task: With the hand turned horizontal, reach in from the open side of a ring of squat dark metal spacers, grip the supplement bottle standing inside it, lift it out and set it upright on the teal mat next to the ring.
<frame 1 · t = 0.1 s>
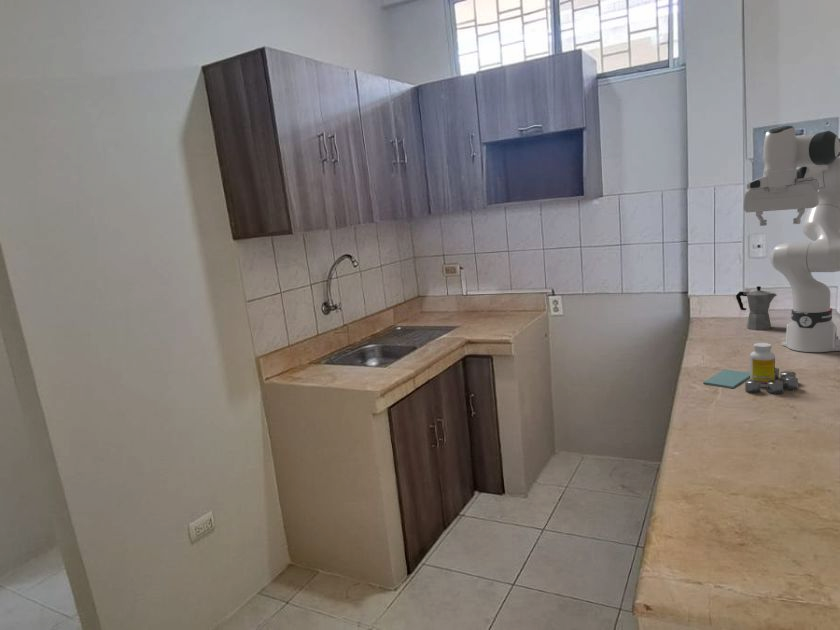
hand: (779, 224, 178), 48 cm above the countertop, tool pointing down, fingers open, 8 cm apart
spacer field: (762, 384, 176), on the countertop
coffeepot: (756, 328, 241), on the countertop
supplement bottle: (762, 385, 176), on the countertop
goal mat: (728, 379, 183), on the countertop
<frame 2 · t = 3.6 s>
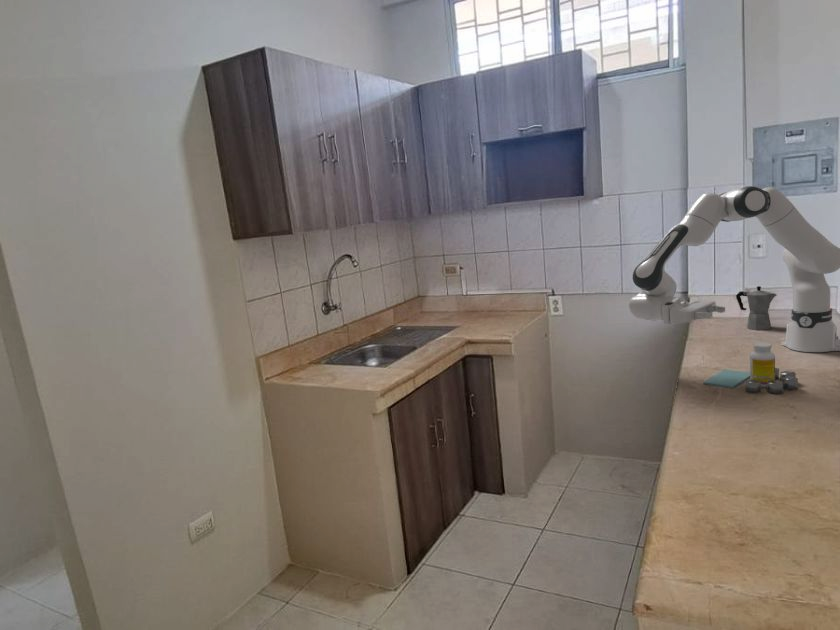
hand: (718, 312, 182), 22 cm above the countertop, tool horizontal, fingers open, 8 cm apart
nothing on the countertop moved.
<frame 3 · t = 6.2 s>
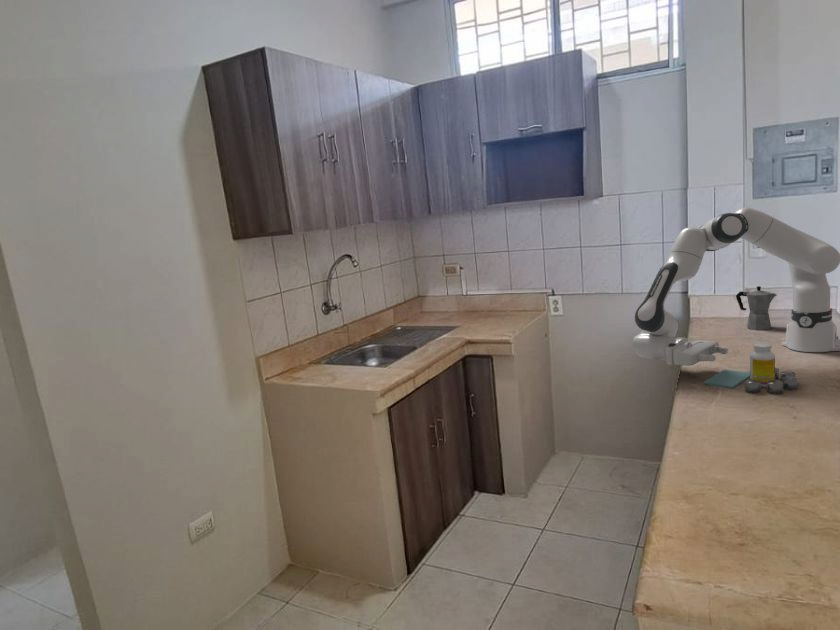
hand: (721, 354, 184), 8 cm above the countertop, tool horizontal, fingers open, 8 cm apart
nothing on the countertop moved.
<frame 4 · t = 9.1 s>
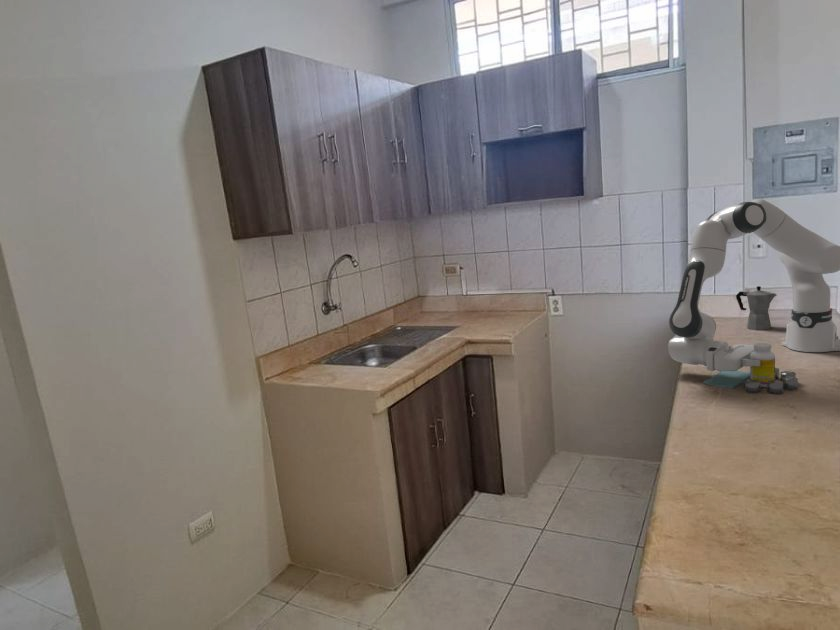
hand: (765, 359, 174), 8 cm above the countertop, tool horizontal, fingers closed on supplement bottle, 7 cm apart
supplement bottle: (762, 384, 176), on the countertop, touching gripper
everything else where it was.
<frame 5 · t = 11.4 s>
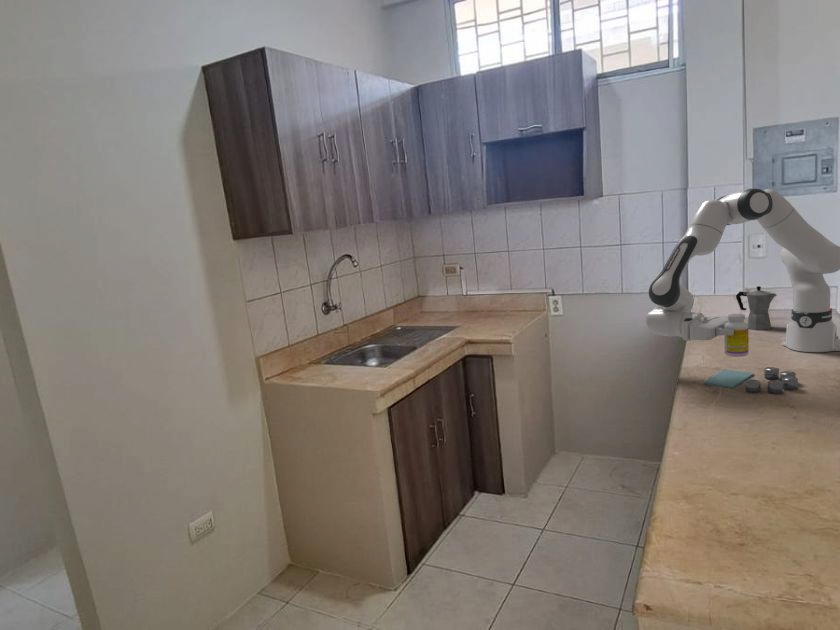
hand: (739, 329, 177), 17 cm above the countertop, tool horizontal, fingers closed on supplement bottle, 7 cm apart
supplement bottle: (736, 355, 180), point 9 cm above the countertop, touching gripper
everything else where it was.
when the fingers open (9 cm above the countertop, at t = 14.0 s): supplement bottle stays where it is, resting on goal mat.
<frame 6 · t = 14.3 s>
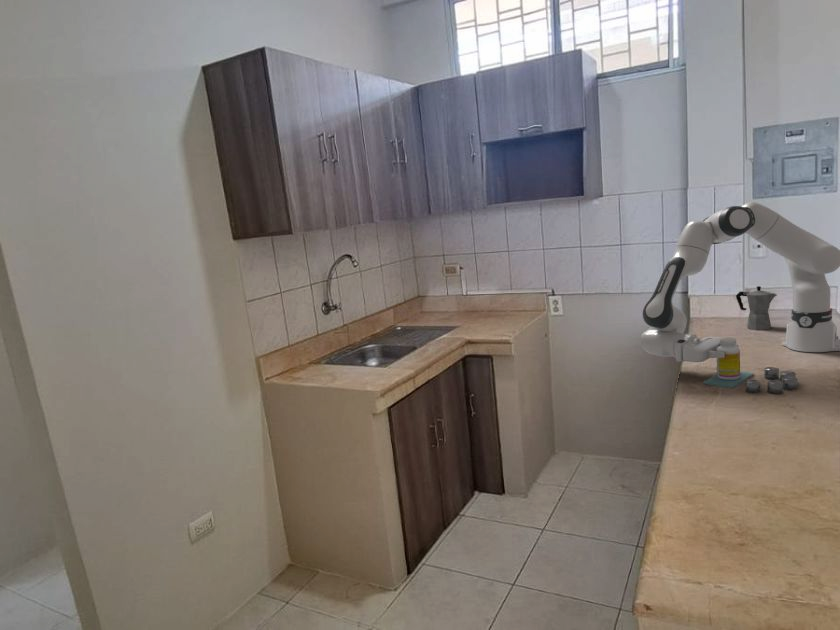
hand: (731, 351, 181), 10 cm above the countertop, tool horizontal, fingers open, 8 cm apart
supplement bottle: (728, 378, 183), resting on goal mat
everything else where it was.
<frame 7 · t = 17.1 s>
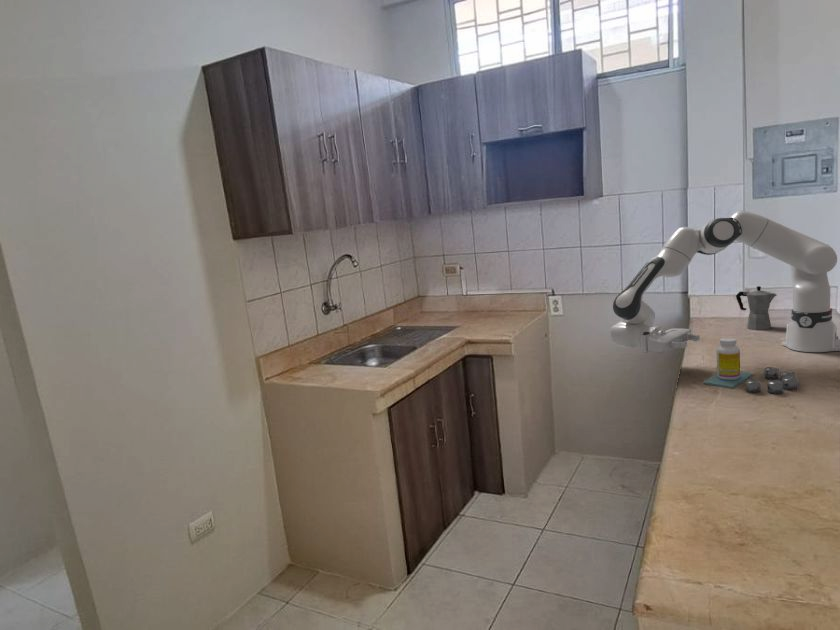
hand: (692, 341, 191), 11 cm above the countertop, tool horizontal, fingers open, 8 cm apart
nothing on the countertop moved.
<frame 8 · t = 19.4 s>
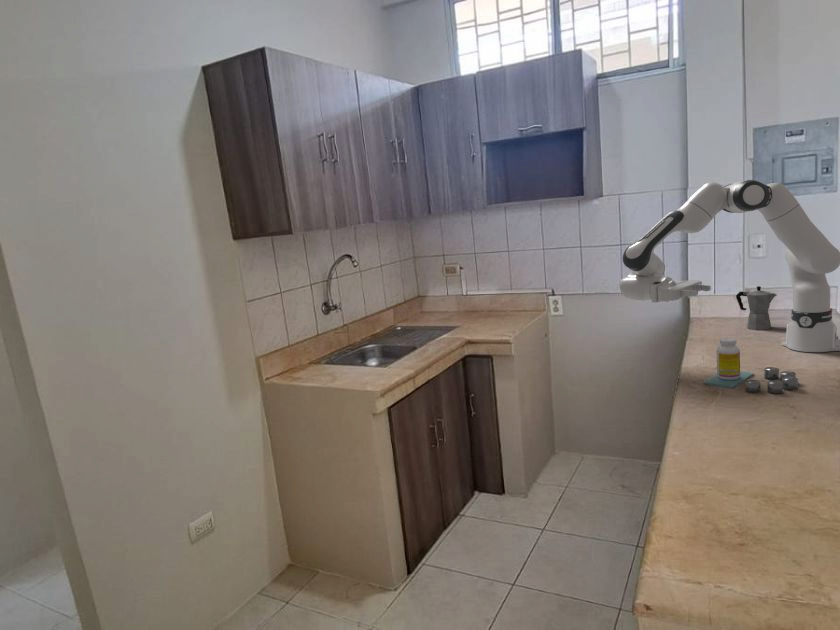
hand: (703, 290, 190), 28 cm above the countertop, tool horizontal, fingers open, 8 cm apart
nothing on the countertop moved.
at the end: supplement bottle inside the target area on the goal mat (0.1 cm from its centre), point 0.4 cm above the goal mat's base; supplement bottle tilted 0°; the gripper is holding nothing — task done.
